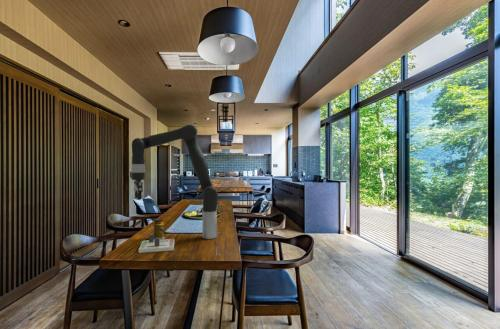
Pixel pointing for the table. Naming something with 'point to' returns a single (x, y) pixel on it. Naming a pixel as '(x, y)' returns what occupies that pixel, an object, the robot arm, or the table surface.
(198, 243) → the table surface
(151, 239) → the block
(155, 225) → the condiment
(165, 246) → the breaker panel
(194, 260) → the table surface
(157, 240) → the block
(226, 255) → the table surface
